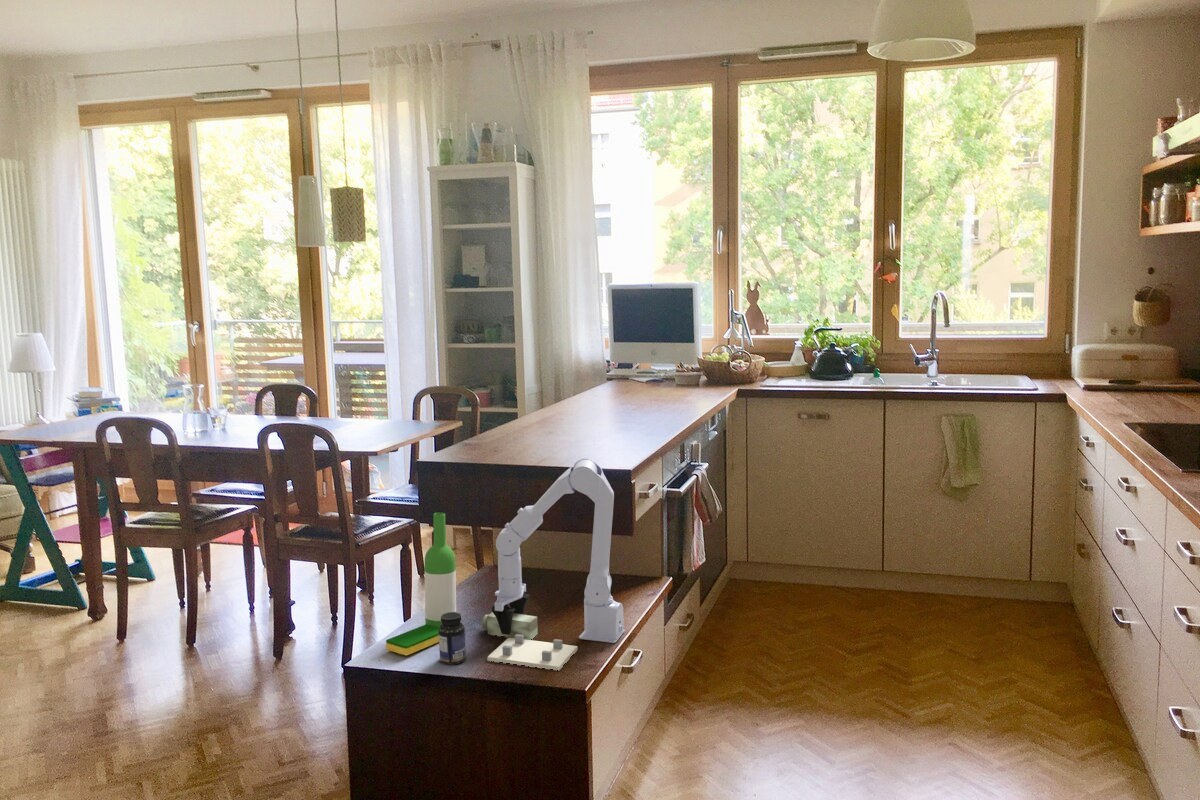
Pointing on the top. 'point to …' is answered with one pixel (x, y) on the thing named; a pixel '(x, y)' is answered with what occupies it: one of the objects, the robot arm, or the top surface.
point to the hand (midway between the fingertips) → (511, 628)
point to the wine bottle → (439, 576)
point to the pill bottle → (452, 639)
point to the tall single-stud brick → (513, 626)
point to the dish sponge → (413, 640)
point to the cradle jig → (533, 653)
